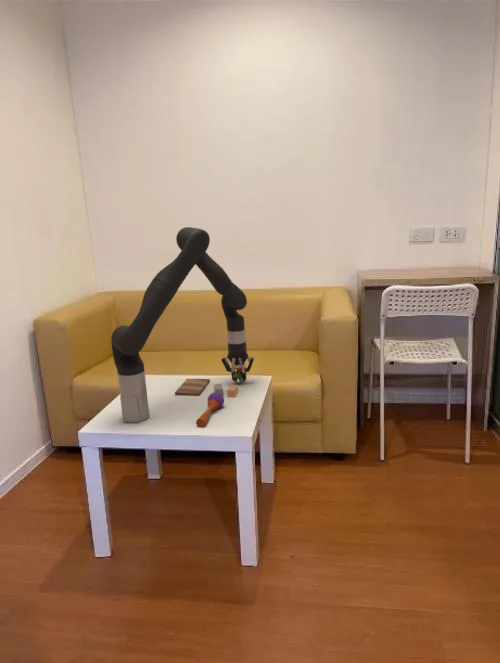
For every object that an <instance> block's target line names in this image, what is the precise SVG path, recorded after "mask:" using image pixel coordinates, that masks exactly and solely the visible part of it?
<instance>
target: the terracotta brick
mask: <svg viewBox="0 0 500 663" xmlns="http://www.w3.org/2000/svg"><path fill="white" fill-rule="evenodd" d="M226 392H227V393H226V394H227V398H236V396H237V395H238V393H239V385H238V384H230V385H229V387H228V388H227V390H226Z"/></svg>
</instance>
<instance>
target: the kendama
mask: <svg viewBox="0 0 500 663" xmlns="http://www.w3.org/2000/svg"><path fill="white" fill-rule="evenodd" d="M224 402H225V398H224V394H223V395H222V394H221V393H218V392H214V391H213V392H212V393H210V394H209V396H208V397H207V409H206V411H204V412H203V414H201V415H200V416H199V417H198V418H197V419H196V421H195V423H196V426H197V427H199V428H203V427H205V426H206V424H207V421H208V419H209V417H210V414H211V412H212V411H214V410H215V411H216V410H217V409H220V408H222V407H223V405H224Z"/></svg>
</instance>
